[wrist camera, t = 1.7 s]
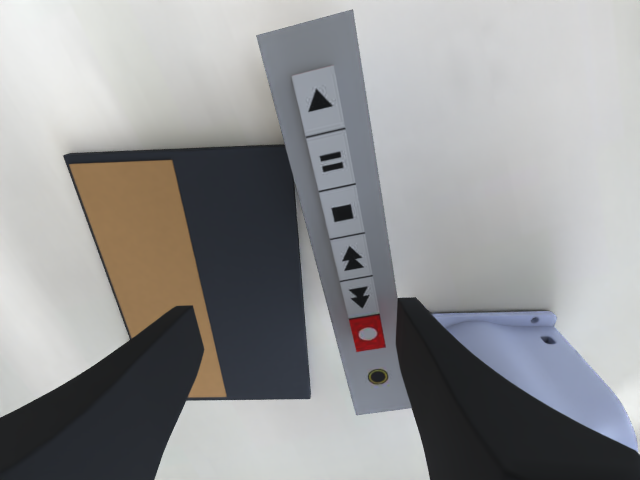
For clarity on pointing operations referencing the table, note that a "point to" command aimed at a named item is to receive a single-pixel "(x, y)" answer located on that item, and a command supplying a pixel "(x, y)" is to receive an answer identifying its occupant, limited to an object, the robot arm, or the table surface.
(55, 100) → the table surface
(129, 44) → the table surface
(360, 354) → the cassette player
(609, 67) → the table surface
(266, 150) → the desk mat
